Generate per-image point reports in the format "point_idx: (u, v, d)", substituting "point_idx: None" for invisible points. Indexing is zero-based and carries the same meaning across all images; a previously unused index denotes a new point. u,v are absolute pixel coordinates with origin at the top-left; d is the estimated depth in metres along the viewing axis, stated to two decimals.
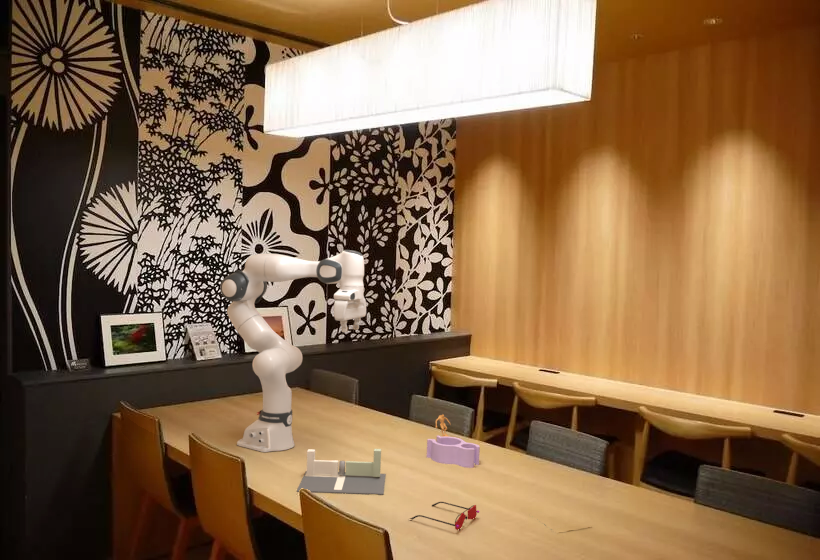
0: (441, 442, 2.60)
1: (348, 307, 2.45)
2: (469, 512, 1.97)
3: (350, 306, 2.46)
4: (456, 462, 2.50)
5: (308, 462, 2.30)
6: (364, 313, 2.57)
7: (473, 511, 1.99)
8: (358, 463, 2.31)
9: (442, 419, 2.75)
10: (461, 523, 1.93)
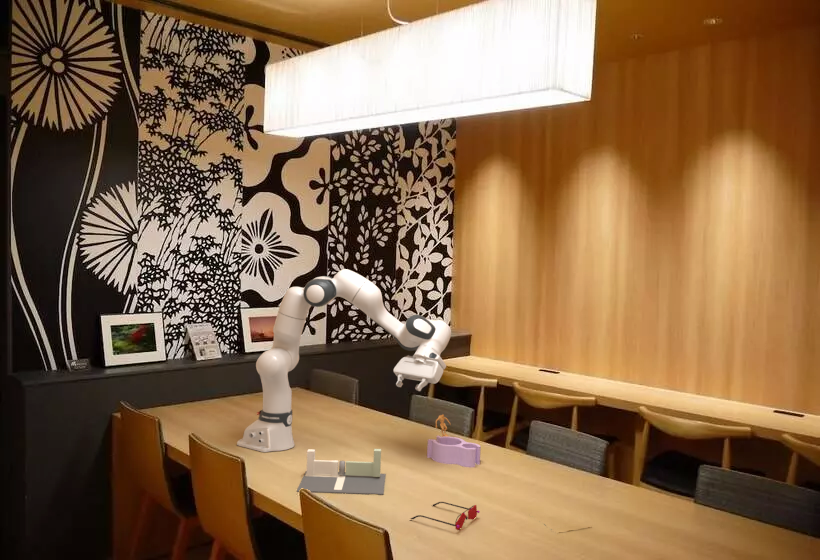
0: (441, 442, 2.60)
1: None
2: (469, 512, 1.97)
3: None
4: (457, 462, 2.50)
5: (308, 462, 2.30)
6: None
7: (473, 511, 1.99)
8: (358, 463, 2.31)
9: (442, 419, 2.75)
10: (461, 523, 1.93)
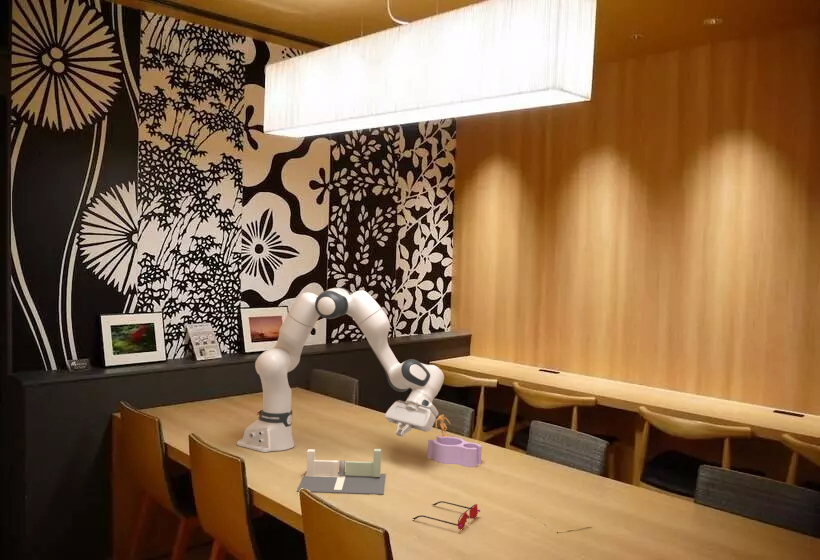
0: (441, 442, 2.60)
1: None
2: (471, 511, 1.97)
3: None
4: (459, 462, 2.50)
5: (308, 462, 2.30)
6: None
7: (474, 510, 2.00)
8: (358, 463, 2.31)
9: (442, 419, 2.75)
10: (463, 523, 1.93)
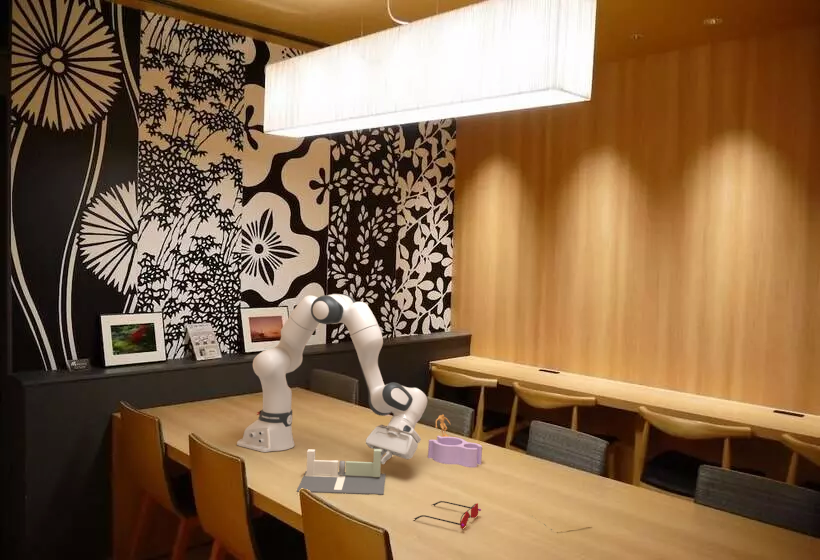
0: (442, 442, 2.60)
1: None
2: (472, 510, 1.98)
3: None
4: (459, 462, 2.50)
5: (308, 462, 2.30)
6: None
7: (475, 509, 2.00)
8: (358, 463, 2.31)
9: (442, 419, 2.75)
10: (465, 522, 1.94)
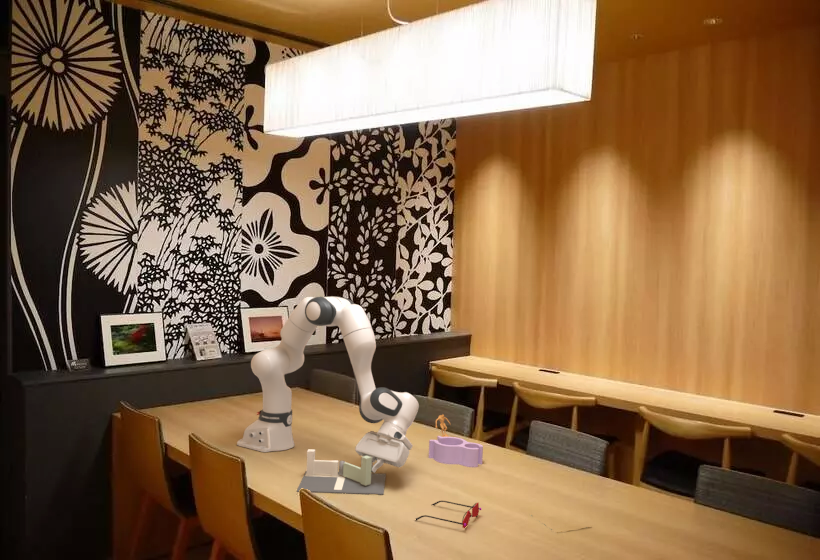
0: (442, 442, 2.60)
1: None
2: (473, 510, 1.99)
3: None
4: (460, 462, 2.50)
5: (308, 462, 2.30)
6: None
7: (476, 509, 2.01)
8: (352, 466, 2.27)
9: (442, 419, 2.75)
10: (467, 521, 1.94)
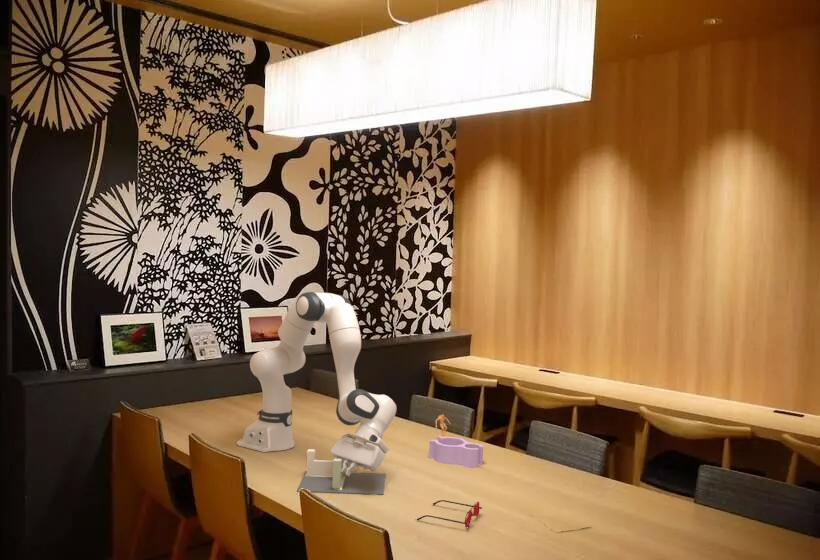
0: (443, 442, 2.60)
1: None
2: (474, 509, 1.99)
3: None
4: (460, 462, 2.49)
5: (308, 462, 2.30)
6: None
7: (477, 508, 2.02)
8: None
9: (442, 419, 2.75)
10: (469, 520, 1.95)
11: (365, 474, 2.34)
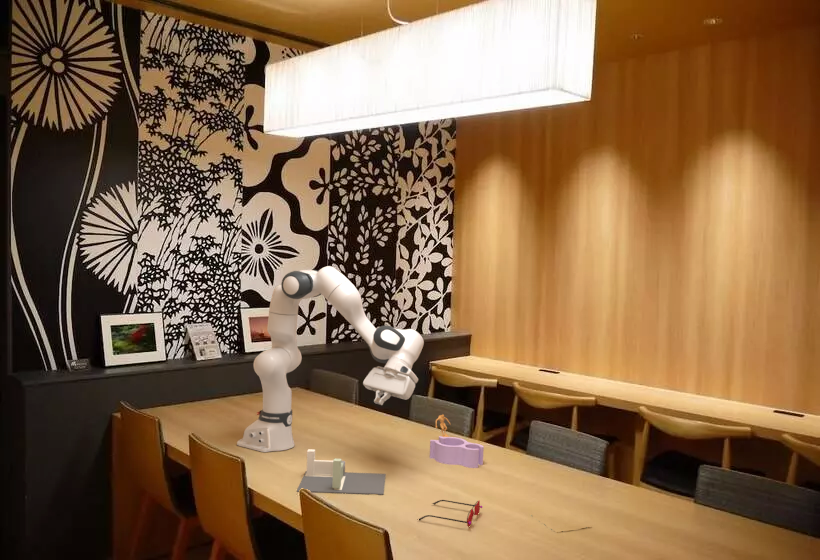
0: (444, 443, 2.60)
1: None
2: (475, 508, 2.00)
3: None
4: (461, 462, 2.49)
5: (308, 462, 2.30)
6: None
7: (478, 507, 2.03)
8: None
9: (442, 419, 2.75)
10: (471, 519, 1.96)
11: (365, 474, 2.34)
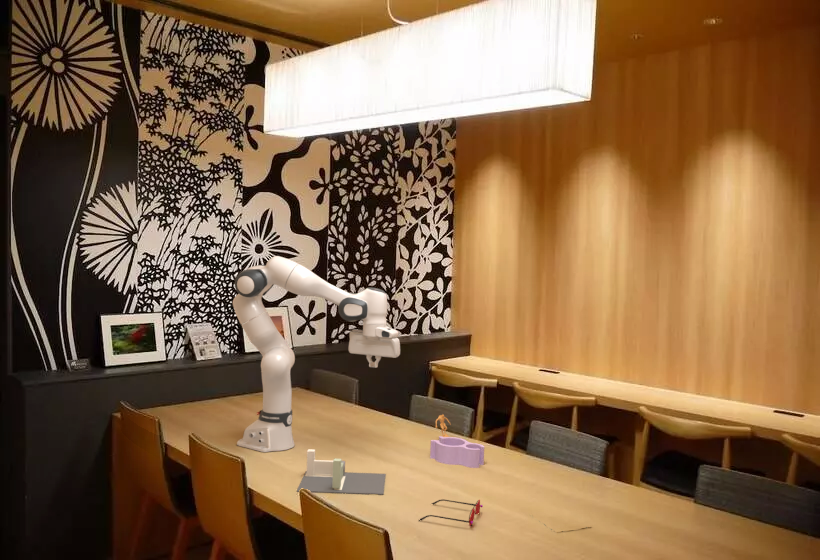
0: (444, 443, 2.60)
1: None
2: (476, 507, 2.01)
3: None
4: (461, 462, 2.49)
5: (308, 462, 2.30)
6: None
7: (478, 506, 2.03)
8: None
9: (442, 419, 2.75)
10: (472, 519, 1.96)
11: (365, 474, 2.34)
